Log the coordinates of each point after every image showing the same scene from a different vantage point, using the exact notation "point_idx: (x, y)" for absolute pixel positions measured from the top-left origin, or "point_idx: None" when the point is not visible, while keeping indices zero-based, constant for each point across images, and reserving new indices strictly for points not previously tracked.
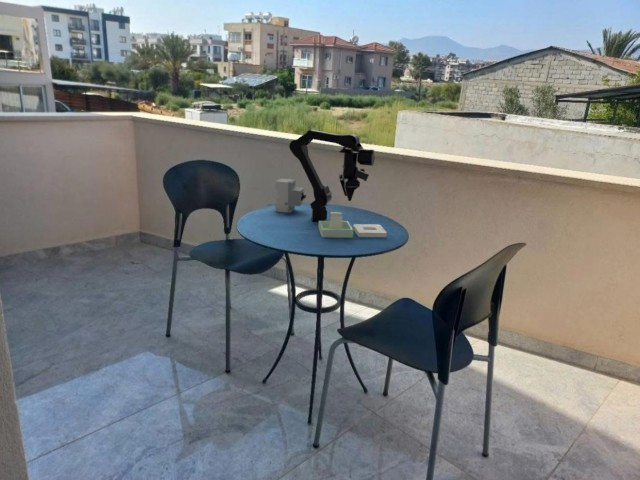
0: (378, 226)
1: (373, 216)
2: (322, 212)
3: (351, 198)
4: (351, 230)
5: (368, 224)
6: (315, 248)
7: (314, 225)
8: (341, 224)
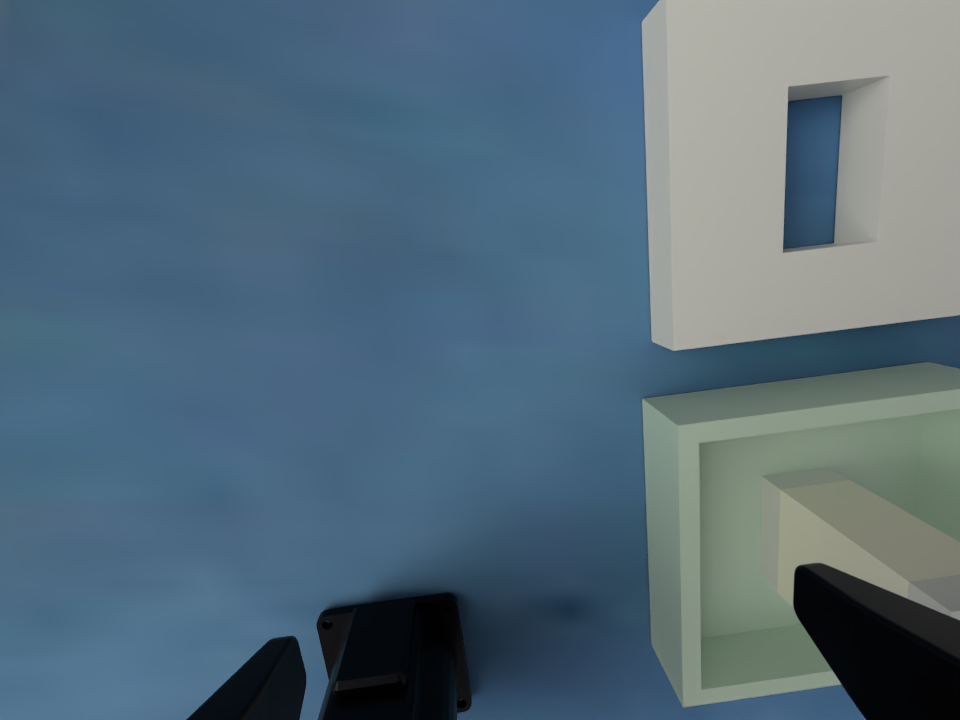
0: (754, 31)
1: (66, 16)
2: (442, 710)
3: (897, 599)
4: None
5: (672, 163)
6: None
7: (577, 676)
8: (894, 512)
